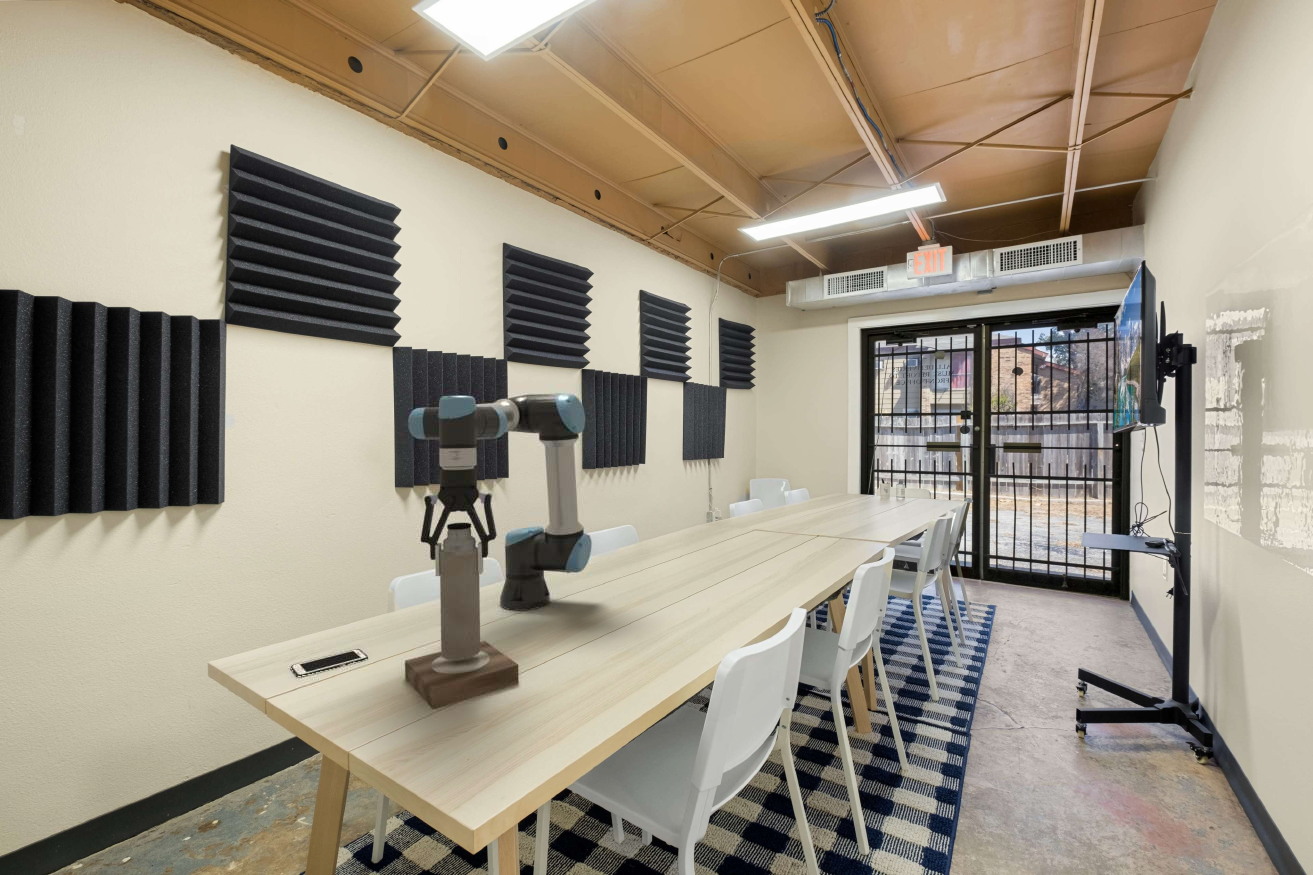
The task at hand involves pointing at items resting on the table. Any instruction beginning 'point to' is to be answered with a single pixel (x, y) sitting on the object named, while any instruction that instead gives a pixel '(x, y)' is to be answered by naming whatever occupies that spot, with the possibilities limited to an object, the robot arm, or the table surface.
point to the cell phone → (328, 662)
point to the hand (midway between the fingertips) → (459, 573)
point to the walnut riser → (460, 675)
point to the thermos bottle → (459, 594)
